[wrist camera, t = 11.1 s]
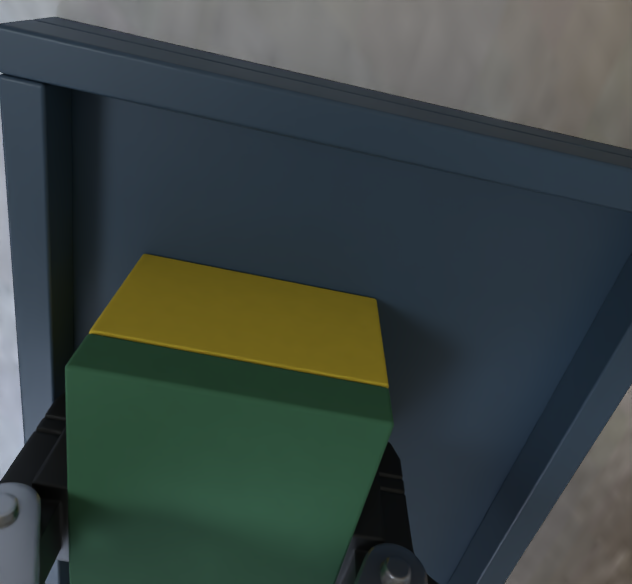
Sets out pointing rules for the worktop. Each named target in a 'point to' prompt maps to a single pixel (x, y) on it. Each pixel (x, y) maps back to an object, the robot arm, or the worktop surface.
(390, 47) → the worktop surface
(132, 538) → the sponge
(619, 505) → the worktop surface
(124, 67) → the tray
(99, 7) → the worktop surface
